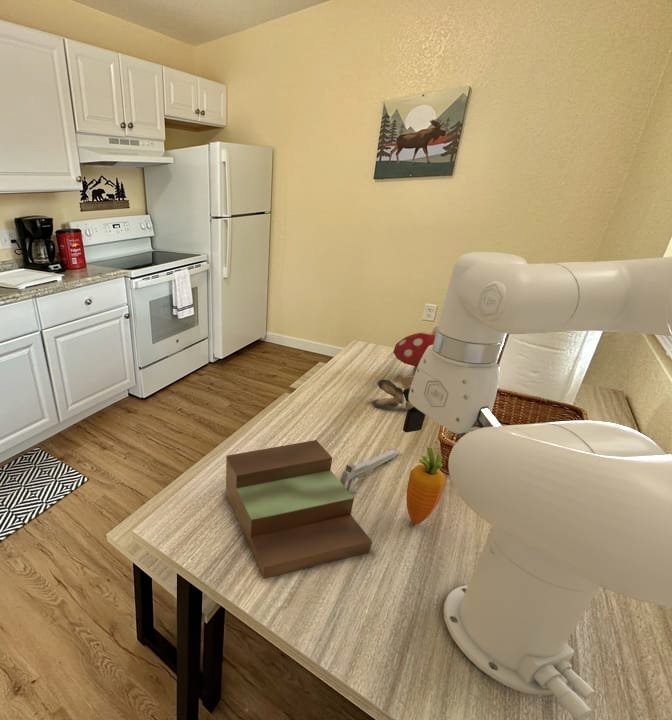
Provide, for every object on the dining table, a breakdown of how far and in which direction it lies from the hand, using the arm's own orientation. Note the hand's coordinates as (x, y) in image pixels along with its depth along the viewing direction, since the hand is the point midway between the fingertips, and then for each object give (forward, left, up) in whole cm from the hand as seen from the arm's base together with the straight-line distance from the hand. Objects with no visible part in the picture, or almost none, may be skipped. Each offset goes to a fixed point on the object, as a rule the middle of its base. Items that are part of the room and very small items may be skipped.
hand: (435, 448), depth 59 cm
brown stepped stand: (+6, +20, -16) cm, 26 cm away
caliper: (+13, -1, -16) cm, 20 cm away
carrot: (0, 0, -16) cm, 16 cm away
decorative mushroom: (+44, -40, -16) cm, 61 cm away
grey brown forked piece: (+34, -23, -16) cm, 44 cm away
